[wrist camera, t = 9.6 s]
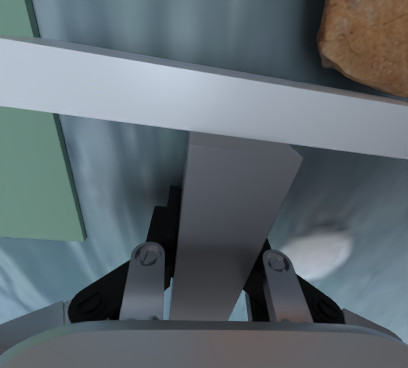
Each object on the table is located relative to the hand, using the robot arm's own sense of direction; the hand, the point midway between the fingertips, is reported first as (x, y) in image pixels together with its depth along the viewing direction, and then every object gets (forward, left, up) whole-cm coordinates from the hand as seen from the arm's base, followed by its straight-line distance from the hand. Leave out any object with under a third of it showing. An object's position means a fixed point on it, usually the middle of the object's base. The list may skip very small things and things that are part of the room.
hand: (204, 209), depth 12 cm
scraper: (0, 0, 0) cm, 0 cm away
